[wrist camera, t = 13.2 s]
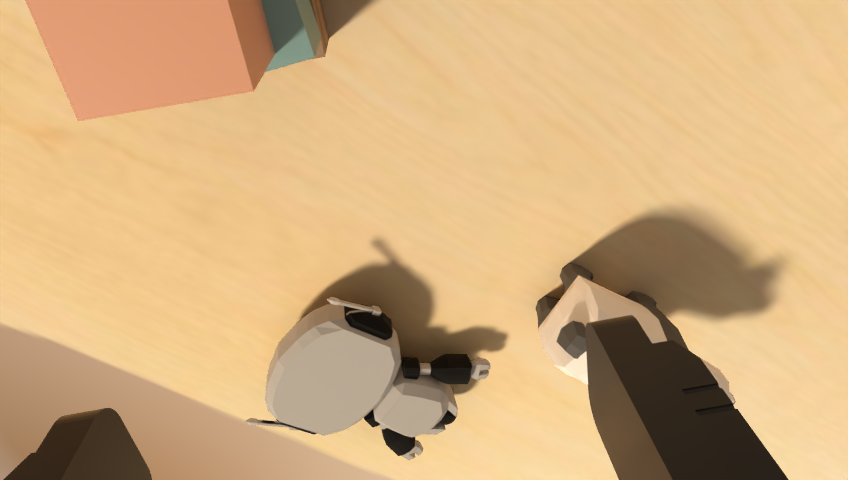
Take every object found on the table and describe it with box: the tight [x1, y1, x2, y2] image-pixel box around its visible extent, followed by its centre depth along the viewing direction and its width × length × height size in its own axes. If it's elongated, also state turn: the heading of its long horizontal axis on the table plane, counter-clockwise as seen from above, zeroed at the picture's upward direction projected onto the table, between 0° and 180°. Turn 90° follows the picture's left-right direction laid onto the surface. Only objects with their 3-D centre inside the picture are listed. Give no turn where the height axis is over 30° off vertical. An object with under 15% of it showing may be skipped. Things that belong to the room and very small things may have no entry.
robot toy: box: [245, 297, 490, 460], centre depth 45 cm, size 12×4×15 cm
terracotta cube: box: [25, 0, 275, 121], centre depth 22 cm, size 6×6×6 cm
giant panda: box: [536, 263, 735, 404], centre depth 43 cm, size 15×6×10 cm, turn 61°
